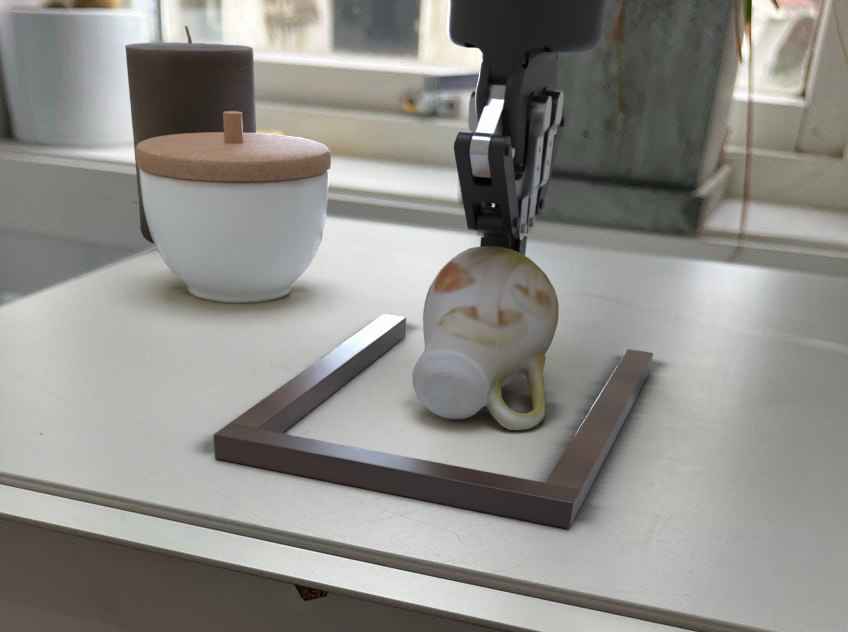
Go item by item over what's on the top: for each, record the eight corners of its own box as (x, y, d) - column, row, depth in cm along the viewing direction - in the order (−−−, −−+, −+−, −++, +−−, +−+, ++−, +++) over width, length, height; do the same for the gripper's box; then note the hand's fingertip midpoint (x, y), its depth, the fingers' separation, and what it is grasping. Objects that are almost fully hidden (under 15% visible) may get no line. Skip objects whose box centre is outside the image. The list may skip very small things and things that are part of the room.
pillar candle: (210, 256, 78) (197, 30, 70) (116, 238, 82) (94, 23, 74) (283, 235, 85) (280, 27, 77) (193, 219, 89) (181, 20, 81)
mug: (371, 427, 50) (376, 223, 50) (450, 452, 59) (455, 278, 58) (513, 419, 47) (520, 199, 46) (575, 446, 55) (581, 261, 55)
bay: (383, 333, 63) (383, 313, 62) (649, 373, 58) (653, 352, 57) (214, 458, 46) (212, 434, 46) (569, 529, 41) (573, 503, 41)
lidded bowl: (362, 302, 69) (367, 121, 63) (187, 324, 63) (173, 128, 57) (282, 260, 78) (279, 99, 72) (123, 277, 72) (105, 103, 66)
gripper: (582, -73, 41) (532, 349, 51) (638, -66, 51) (588, 285, 61) (408, -76, 43) (393, 329, 53) (495, -69, 53) (469, 269, 63)
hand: (497, 304), depth 57 cm, fingers closed
